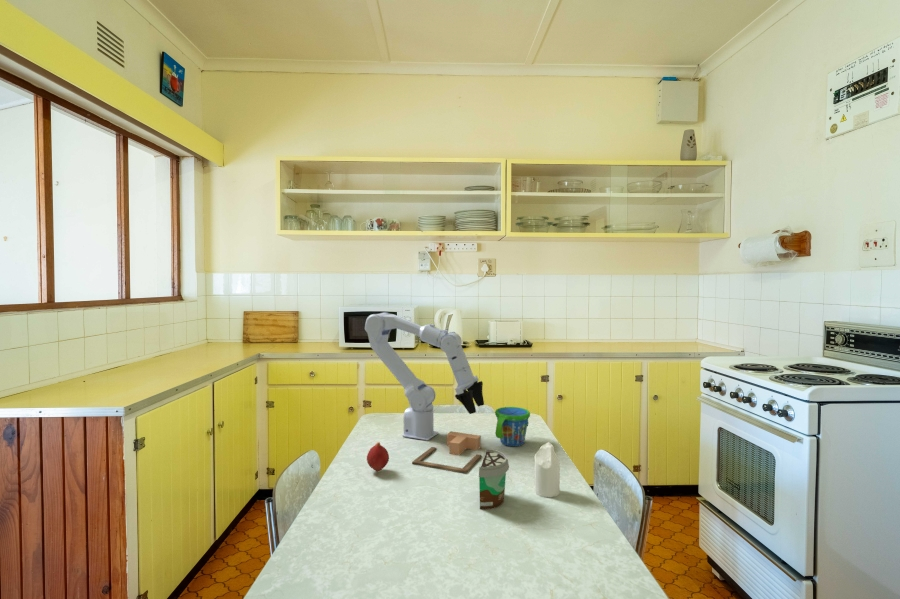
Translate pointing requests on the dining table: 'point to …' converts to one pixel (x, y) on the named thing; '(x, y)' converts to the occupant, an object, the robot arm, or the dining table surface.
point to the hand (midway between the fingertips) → (477, 409)
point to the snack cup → (512, 425)
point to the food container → (492, 479)
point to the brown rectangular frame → (444, 467)
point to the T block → (462, 442)
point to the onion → (377, 457)
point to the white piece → (547, 471)
